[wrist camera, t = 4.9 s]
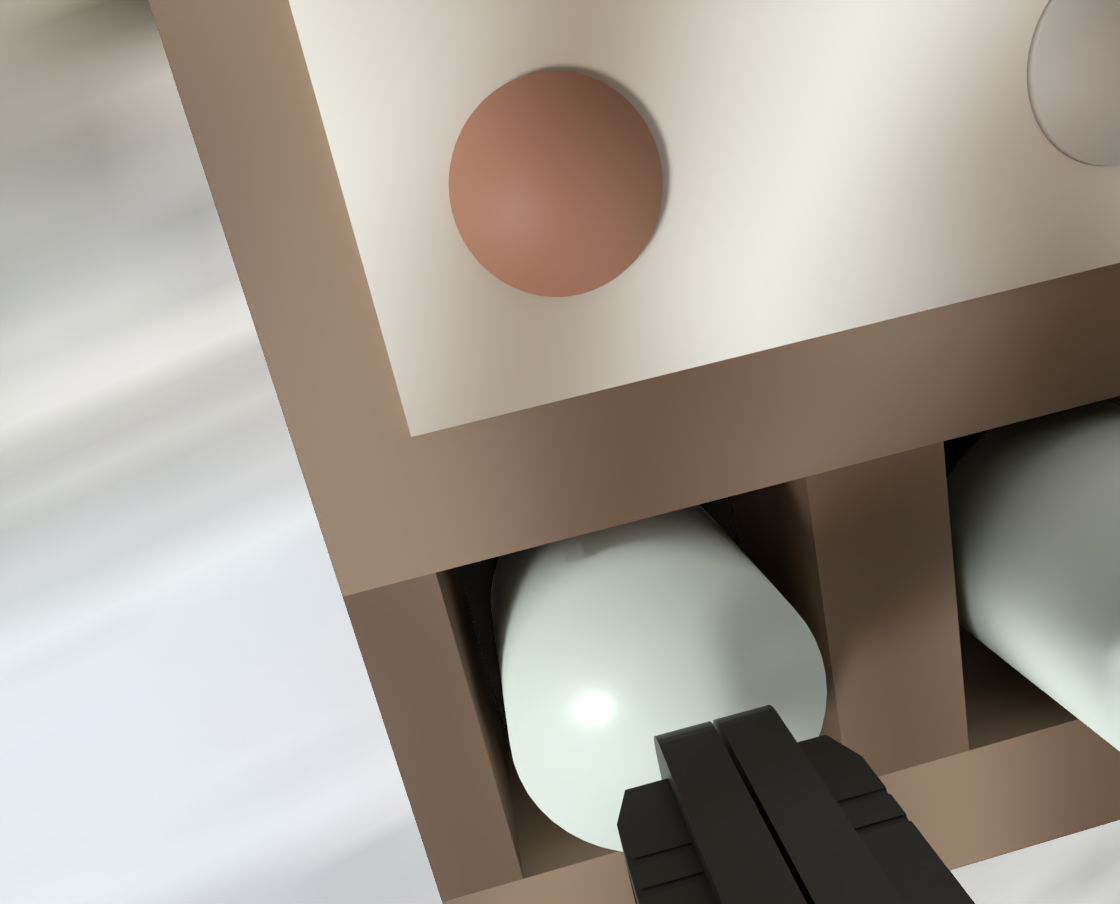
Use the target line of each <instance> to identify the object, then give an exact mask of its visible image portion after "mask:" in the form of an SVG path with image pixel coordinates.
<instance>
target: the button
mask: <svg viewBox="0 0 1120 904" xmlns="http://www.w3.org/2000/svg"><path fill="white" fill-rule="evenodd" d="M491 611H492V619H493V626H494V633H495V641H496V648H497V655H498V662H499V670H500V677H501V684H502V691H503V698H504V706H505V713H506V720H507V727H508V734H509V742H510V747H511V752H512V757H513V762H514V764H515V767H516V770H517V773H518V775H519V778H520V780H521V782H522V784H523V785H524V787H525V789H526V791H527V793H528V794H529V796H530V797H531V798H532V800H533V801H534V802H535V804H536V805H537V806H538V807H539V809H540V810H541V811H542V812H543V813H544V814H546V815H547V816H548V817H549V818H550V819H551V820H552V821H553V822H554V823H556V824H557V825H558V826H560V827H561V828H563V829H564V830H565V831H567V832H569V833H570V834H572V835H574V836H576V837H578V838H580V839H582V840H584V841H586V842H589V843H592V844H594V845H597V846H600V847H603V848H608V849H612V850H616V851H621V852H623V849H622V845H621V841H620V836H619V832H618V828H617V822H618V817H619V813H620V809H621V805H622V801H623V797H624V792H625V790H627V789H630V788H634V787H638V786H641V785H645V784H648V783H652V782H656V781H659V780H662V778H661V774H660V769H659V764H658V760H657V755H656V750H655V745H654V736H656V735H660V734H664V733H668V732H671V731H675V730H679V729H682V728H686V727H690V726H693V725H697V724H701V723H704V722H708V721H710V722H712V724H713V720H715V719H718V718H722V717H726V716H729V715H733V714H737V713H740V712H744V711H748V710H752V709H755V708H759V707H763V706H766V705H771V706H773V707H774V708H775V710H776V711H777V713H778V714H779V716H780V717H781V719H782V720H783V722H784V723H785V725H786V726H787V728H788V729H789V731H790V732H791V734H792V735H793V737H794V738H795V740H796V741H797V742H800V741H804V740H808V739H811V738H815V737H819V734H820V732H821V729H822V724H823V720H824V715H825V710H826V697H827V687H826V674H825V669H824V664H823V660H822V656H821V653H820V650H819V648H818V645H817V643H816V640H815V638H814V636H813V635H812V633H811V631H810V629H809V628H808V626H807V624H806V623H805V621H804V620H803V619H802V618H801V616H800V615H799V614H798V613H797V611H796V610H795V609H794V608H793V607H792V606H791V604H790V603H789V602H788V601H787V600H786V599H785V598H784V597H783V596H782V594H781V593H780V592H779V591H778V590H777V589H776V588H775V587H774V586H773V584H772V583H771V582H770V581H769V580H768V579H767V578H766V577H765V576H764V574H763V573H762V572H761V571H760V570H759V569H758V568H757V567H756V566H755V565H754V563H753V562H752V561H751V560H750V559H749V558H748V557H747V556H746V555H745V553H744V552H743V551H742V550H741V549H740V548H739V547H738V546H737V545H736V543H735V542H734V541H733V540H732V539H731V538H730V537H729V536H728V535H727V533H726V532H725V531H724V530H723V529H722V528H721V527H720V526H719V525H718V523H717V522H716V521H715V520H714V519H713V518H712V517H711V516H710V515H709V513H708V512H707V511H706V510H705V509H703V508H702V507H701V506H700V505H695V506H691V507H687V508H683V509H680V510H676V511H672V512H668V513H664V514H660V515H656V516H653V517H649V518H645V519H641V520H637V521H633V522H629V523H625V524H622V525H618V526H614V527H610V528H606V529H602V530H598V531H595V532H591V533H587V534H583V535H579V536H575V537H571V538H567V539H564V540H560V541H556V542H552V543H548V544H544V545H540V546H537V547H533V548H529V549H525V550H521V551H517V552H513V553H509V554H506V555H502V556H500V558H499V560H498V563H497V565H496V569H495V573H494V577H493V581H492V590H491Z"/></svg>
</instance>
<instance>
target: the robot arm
mask: <svg viewBox="0 0 1120 904" xmlns="http://www.w3.org/2000/svg"><path fill="white" fill-rule="evenodd" d="M654 745H655V750H656V755H657V760H658V764H659V769H660V774H661V778H662V780H659V781H656V782H652V783H648V784H645V785H641V786H638V787H634V788H630V789H627V790H625V792H624V797H623V801H622V805H621V809H620V813H619V817H618V822H617V828H618V832H619V836H620V841H621V845H622V849H623V853H624V857H625V862H626V866H627V870H628V874H629V878H630V883H631V887H632V891H633V895H634V899H635V904H975V903H974V902H973V900H972V899H971V898H970V897H969V895H968V894H967V893H966V891H965V890H964V889H963V887H962V886H961V885H960V883H959V882H958V881H957V880H956V878H955V877H954V876H953V874H952V873H951V872H950V870H949V869H948V868H947V866H946V865H945V864H944V863H943V861H942V860H941V859H940V857H939V856H938V855H937V853H936V852H935V851H934V850H933V848H932V847H931V846H930V844H929V843H928V842H927V840H926V839H925V838H924V836H923V835H922V834H921V833H920V831H919V830H918V829H917V827H916V826H915V825H914V823H913V822H912V821H909V820H908V818H907V815H906V813H905V812H904V810H903V809H902V808H901V806H900V805H899V804H898V802H897V801H896V800H895V799H894V797H893V796H892V795H891V794H888V792H887V789H886V787H885V785H884V784H883V783H882V782H881V780H880V779H879V778H878V776H877V775H876V774H875V772H874V771H873V770H872V768H871V767H870V766H869V765H868V763H867V762H866V761H865V759H864V758H863V757H862V756H861V755H859V754H857V753H856V752H854V751H852V750H851V749H849V748H847V747H846V746H844V745H842V744H841V743H839V742H837V741H836V740H834V739H832V738H831V737H829V736H827V735H822V736H819V737H815V738H811V739H808V740H804V741H800V742H797V741H796V740H795V738H794V737H793V735H792V734H791V732H790V731H789V729H788V728H787V726H786V725H785V723H784V722H783V720H782V719H781V717H780V716H779V714H778V713H777V711H776V710H775V708H774V707H773V706H771V705H766V706H763V707H759V708H755V709H752V710H748V711H744V712H740V713H737V714H733V715H729V716H726V717H722V718H718V719H715V720H713V724H712V722H710V721H708V722H704V723H701V724H697V725H693V726H690V727H686V728H682V729H679V730H675V731H671V732H668V733H664V734H660V735H656V736H654Z"/></svg>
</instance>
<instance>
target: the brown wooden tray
mask: <svg viewBox="0 0 1120 904" xmlns="http://www.w3.org/2000/svg"><path fill="white" fill-rule="evenodd" d="M149 3H150V6H151V9H152V12H153V16H154V19H155V22H156V25H157V28H158V31H159V34H160V37H161V40H162V43H163V46H164V49H165V52H166V55H167V59H168V62H169V65H170V68H171V71H172V74H173V77H174V80H175V83H176V86H177V89H178V92H179V95H180V98H181V101H182V105H183V108H184V111H185V114H186V117H187V120H188V123H189V126H190V129H191V132H192V135H193V138H194V141H195V144H196V148H197V151H198V154H199V157H200V160H201V163H202V166H203V169H204V172H205V175H206V178H207V181H208V184H209V187H210V191H211V194H212V197H213V200H214V203H215V206H216V209H217V212H218V215H219V218H220V221H221V224H222V227H223V230H224V234H225V237H226V240H227V243H228V246H229V249H230V252H231V255H232V258H233V261H234V264H235V267H236V270H237V273H238V276H239V280H240V283H241V286H242V289H243V292H244V295H245V298H246V301H247V304H248V307H249V310H250V313H251V316H252V319H253V323H254V326H255V329H256V332H257V335H258V338H259V341H260V344H261V347H262V350H263V353H264V356H265V359H266V362H267V366H268V369H269V372H270V375H271V378H272V381H273V384H274V387H275V390H276V393H277V396H278V399H279V402H280V405H281V408H282V412H283V415H284V418H285V421H286V424H287V427H288V430H289V433H290V436H291V439H292V442H293V445H294V448H295V451H296V455H297V458H298V461H299V464H300V467H301V470H302V473H303V476H304V479H305V482H306V485H307V488H308V491H309V494H310V498H311V501H312V504H313V507H314V510H315V513H316V516H317V519H318V522H319V525H320V528H321V531H322V534H323V537H324V541H325V544H326V547H327V550H328V553H329V556H330V559H331V562H332V565H333V568H334V571H335V574H336V577H337V580H338V583H339V587H340V590H341V593H342V596H343V599H344V602H345V605H346V608H347V611H348V614H349V617H350V620H351V623H352V626H353V630H354V633H355V636H356V639H357V642H358V645H359V648H360V651H361V654H362V657H363V660H364V663H365V666H366V669H367V673H368V676H369V679H370V682H371V685H372V688H373V691H374V694H375V697H376V700H377V703H378V706H379V709H380V712H381V715H382V719H383V722H384V725H385V728H386V731H387V734H388V737H389V740H390V743H391V746H392V749H393V752H394V755H395V758H396V762H397V765H398V768H399V771H400V774H401V777H402V780H403V783H404V786H405V789H406V792H407V795H408V798H409V801H410V805H411V808H412V811H413V814H414V817H415V820H416V823H417V826H418V829H419V832H420V835H421V838H422V841H423V844H424V848H425V851H426V854H427V857H428V860H429V863H430V866H431V869H432V872H433V875H434V878H435V881H436V884H437V887H438V890H439V894H440V897H441V900H442V903H443V904H635V899H634V895H633V891H632V887H631V883H630V878H629V874H628V870H627V866H626V862H625V857H624V853H623V852H621V851H616V850H612V849H608V848H603V847H600V846H597V845H594V844H592V843H589V842H586V841H584V840H582V839H580V838H578V837H576V836H574V835H572V834H570V833H569V832H567V831H565V830H564V829H563V828H561V827H560V826H558V825H557V824H556V823H554V822H553V821H552V820H551V819H550V818H549V817H548V816H547V815H546V814H544V813H543V812H542V811H541V810H540V809H539V807H538V806H537V805H536V804H535V802H534V801H533V800H532V798H531V797H530V796H529V794H528V793H527V791H526V789H525V787H524V785H523V784H522V782H521V780H520V778H519V775H518V773H517V770H516V767H515V764H514V762H513V757H512V752H511V747H510V742H509V734H508V729H507V730H504V729H503V725H502V722H501V718H500V714H499V711H498V707H497V704H496V700H495V696H494V693H493V689H492V686H491V682H490V678H489V675H488V671H487V668H486V664H485V660H484V657H483V653H482V649H481V646H480V642H479V639H478V635H477V631H476V628H475V624H474V621H473V617H472V613H471V610H470V606H469V602H468V599H467V595H466V592H465V588H464V584H463V581H462V577H461V574H460V570H459V566H463V565H467V564H471V563H475V562H479V561H482V560H486V559H490V558H494V557H498V556H502V555H506V554H509V553H513V552H517V551H521V550H525V549H529V548H533V547H537V546H540V545H544V544H548V543H552V542H556V541H560V540H564V539H567V538H571V537H575V536H579V535H583V534H587V533H591V532H595V531H598V530H602V529H606V528H610V527H614V526H618V525H622V524H625V523H629V522H633V521H637V520H641V519H645V518H649V517H653V516H656V515H660V514H664V513H668V512H672V511H676V510H680V509H683V508H687V507H691V506H695V505H699V504H703V503H707V502H711V501H714V500H718V499H722V498H726V497H730V496H731V499H732V505H733V511H734V517H735V523H736V530H737V536H738V542H739V548H740V549H741V550H742V551H743V552H744V553H745V555H746V556H747V557H748V558H749V559H750V560H751V561H752V562H753V563H754V565H755V566H756V567H757V568H758V569H759V570H760V571H761V572H762V573H763V574H764V576H765V577H766V578H767V579H768V580H769V581H770V582H771V583H772V584H773V586H774V587H775V588H776V589H777V590H778V591H779V592H780V593H781V594H782V596H783V597H784V598H785V599H786V600H787V601H788V602H789V603H790V604H791V606H792V607H793V608H794V609H795V610H796V611H797V613H798V614H799V615H800V616H801V618H802V619H803V620H804V621H805V623H806V624H807V626H808V628H809V629H810V631H811V633H812V635H813V636H814V638H815V640H816V643H817V645H818V648H819V650H820V653H821V656H822V660H823V664H824V669H825V674H826V687H827V697H826V710H825V715H824V720H823V724H822V729H821V732H820V734H819V736H822V735H827V736H829V737H831V738H832V739H834V740H836V741H837V742H839V743H841V744H842V745H844V746H846V747H847V748H849V749H851V750H852V751H854V752H856V753H857V754H859V755H861V756H862V757H863V758H864V759H865V761H866V762H867V763H868V765H869V766H870V767H871V768H872V770H873V771H874V772H875V774H876V775H877V776H878V778H879V779H880V780H881V782H882V783H883V784H884V785H885V787H886V789H887V792H888V794H891V795H892V796H893V797H894V799H895V800H896V801H897V802H898V804H899V805H900V806H901V808H902V809H903V810H904V812H905V813H906V815H907V818H908V820H909V821H912V822H913V823H914V825H915V826H916V827H917V829H918V830H919V831H920V833H921V834H922V835H923V836H924V838H925V839H926V840H927V842H928V843H929V844H930V846H931V847H932V848H933V850H934V851H935V852H936V853H937V855H938V856H939V857H940V859H941V860H942V861H943V863H944V864H945V865H946V866H947V868H948V869H949V870H953V869H956V868H959V867H963V866H966V865H969V864H973V863H976V862H979V861H983V860H986V859H989V858H993V857H996V856H1000V855H1003V854H1006V853H1010V852H1013V851H1016V850H1020V849H1023V848H1026V847H1030V846H1033V845H1036V844H1040V843H1043V842H1046V841H1050V840H1053V839H1057V838H1060V837H1063V836H1067V835H1070V834H1073V833H1077V832H1080V831H1083V830H1087V829H1090V828H1093V827H1097V826H1100V825H1104V824H1107V823H1110V822H1114V821H1117V820H1120V751H1118V750H1117V749H1116V748H1115V747H1113V746H1112V745H1111V744H1110V743H1108V742H1107V741H1106V740H1104V739H1103V738H1102V737H1101V736H1099V735H1098V734H1097V733H1096V732H1094V731H1093V730H1092V729H1091V728H1089V727H1088V726H1087V725H1086V724H1084V723H1083V722H1082V721H1080V720H1079V719H1078V718H1077V717H1075V716H1074V715H1073V714H1072V713H1070V712H1069V711H1068V710H1067V709H1065V708H1064V707H1063V706H1061V705H1060V704H1059V703H1058V702H1056V701H1055V700H1054V699H1053V698H1051V697H1050V696H1049V695H1048V694H1046V693H1045V692H1044V691H1042V690H1041V689H1040V688H1039V687H1037V686H1036V685H1035V684H1034V683H1032V682H1031V681H1030V680H1029V679H1027V678H1026V677H1025V676H1024V675H1022V674H1021V673H1020V672H1018V671H1017V670H1016V669H1015V668H1013V667H1012V666H1011V665H1010V664H1008V663H1007V662H1006V661H1005V660H1003V659H1002V658H1001V657H999V656H998V655H997V654H996V653H994V652H993V651H992V650H991V649H989V648H988V647H987V646H986V645H984V644H983V643H982V642H980V641H979V640H978V639H977V638H975V637H974V636H973V635H972V634H970V633H969V632H968V631H967V630H965V629H964V628H963V627H962V626H960V625H959V623H958V611H957V599H956V587H955V575H954V563H953V551H952V539H951V527H950V515H949V503H948V491H947V479H946V467H945V455H944V443H943V441H946V440H950V439H954V438H958V437H962V436H966V435H970V434H974V433H977V432H981V431H985V430H989V429H993V428H997V427H1001V426H1004V425H1008V424H1012V423H1016V422H1020V421H1024V420H1028V419H1032V418H1035V417H1039V416H1043V415H1047V414H1051V413H1055V412H1059V411H1062V410H1066V409H1070V408H1074V407H1078V406H1082V405H1086V404H1090V403H1093V402H1097V401H1101V400H1104V401H1109V402H1112V403H1116V404H1119V405H1120V0H149Z"/></svg>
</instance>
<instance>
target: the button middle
mask: <svg viewBox="0 0 1120 904" xmlns="http://www.w3.org/2000/svg"><path fill="white" fill-rule="evenodd" d="M947 491H948V503H949V515H950V527H951V539H952V551H953V563H954V575H955V587H956V599H957V611H958V623H959V625H960V626H962V627H963V628H964V629H965V630H967V631H968V632H969V633H970V634H972V635H973V636H974V637H975V638H977V639H978V640H979V641H980V642H982V643H983V644H984V645H986V646H987V647H988V648H989V649H991V650H992V651H993V652H994V653H996V654H997V655H998V656H999V657H1001V658H1002V659H1003V660H1005V661H1006V662H1007V663H1008V664H1010V665H1011V666H1012V667H1013V668H1015V669H1016V670H1017V671H1018V672H1020V673H1021V674H1022V675H1024V676H1025V677H1026V678H1027V679H1029V680H1030V681H1031V682H1032V683H1034V684H1035V685H1036V686H1037V687H1039V688H1040V689H1041V690H1042V691H1044V692H1045V693H1046V694H1048V695H1049V696H1050V697H1051V698H1053V699H1054V700H1055V701H1056V702H1058V703H1059V704H1060V705H1061V706H1063V707H1064V708H1065V709H1067V710H1068V711H1069V712H1070V713H1072V714H1073V715H1074V716H1075V717H1077V718H1078V719H1079V720H1080V721H1082V722H1083V723H1084V724H1086V725H1087V726H1088V727H1089V728H1091V729H1092V730H1093V731H1094V732H1096V733H1097V734H1098V735H1099V736H1101V737H1102V738H1103V739H1104V740H1106V741H1107V742H1108V743H1110V744H1111V745H1112V746H1113V747H1115V748H1116V749H1117V750H1118V751H1120V405H1119V404H1116V403H1112V402H1109V401H1104V400H1101V401H1097V402H1093V403H1090V404H1086V405H1082V406H1078V407H1074V408H1070V409H1066V410H1062V411H1059V412H1055V413H1051V414H1047V415H1043V416H1039V417H1035V418H1032V419H1028V420H1024V421H1020V422H1016V423H1012V424H1008V425H1004V426H1001V427H997V428H993V429H990V430H989V431H987V432H986V433H985V434H984V435H982V436H981V437H980V438H979V439H978V440H977V441H976V442H975V443H974V444H973V445H972V446H971V447H970V448H969V449H968V450H967V452H966V453H965V454H964V455H963V457H962V458H961V459H960V460H959V461H958V463H957V464H956V466H955V467H954V469H953V470H952V472H951V473H950V475H949V476H948V478H947Z"/></svg>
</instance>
